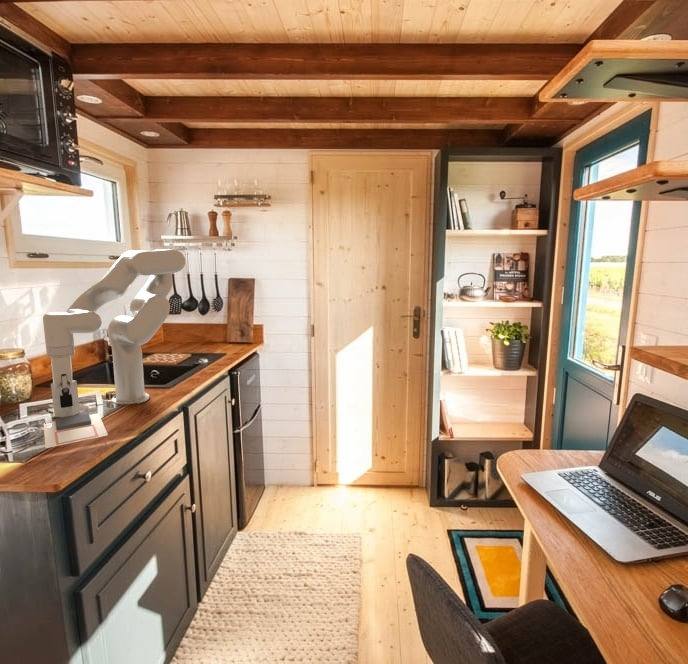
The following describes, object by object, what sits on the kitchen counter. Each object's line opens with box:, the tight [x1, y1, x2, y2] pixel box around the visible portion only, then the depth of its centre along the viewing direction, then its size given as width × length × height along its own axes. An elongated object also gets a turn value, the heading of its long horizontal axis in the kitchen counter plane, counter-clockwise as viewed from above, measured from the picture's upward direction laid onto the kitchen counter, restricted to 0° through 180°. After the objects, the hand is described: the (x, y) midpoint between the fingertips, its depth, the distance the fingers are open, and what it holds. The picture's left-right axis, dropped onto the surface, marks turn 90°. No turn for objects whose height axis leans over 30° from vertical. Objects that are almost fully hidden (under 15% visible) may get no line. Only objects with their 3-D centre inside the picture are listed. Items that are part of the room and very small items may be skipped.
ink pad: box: [54, 412, 91, 431], centre depth 130 cm, size 8×9×1 cm
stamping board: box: [43, 413, 109, 449], centre depth 126 cm, size 21×15×1 cm
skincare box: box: [50, 379, 81, 418], centre depth 136 cm, size 6×4×12 cm
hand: (66, 403), depth 136 cm, fingers closed on skincare box, 6 cm apart
